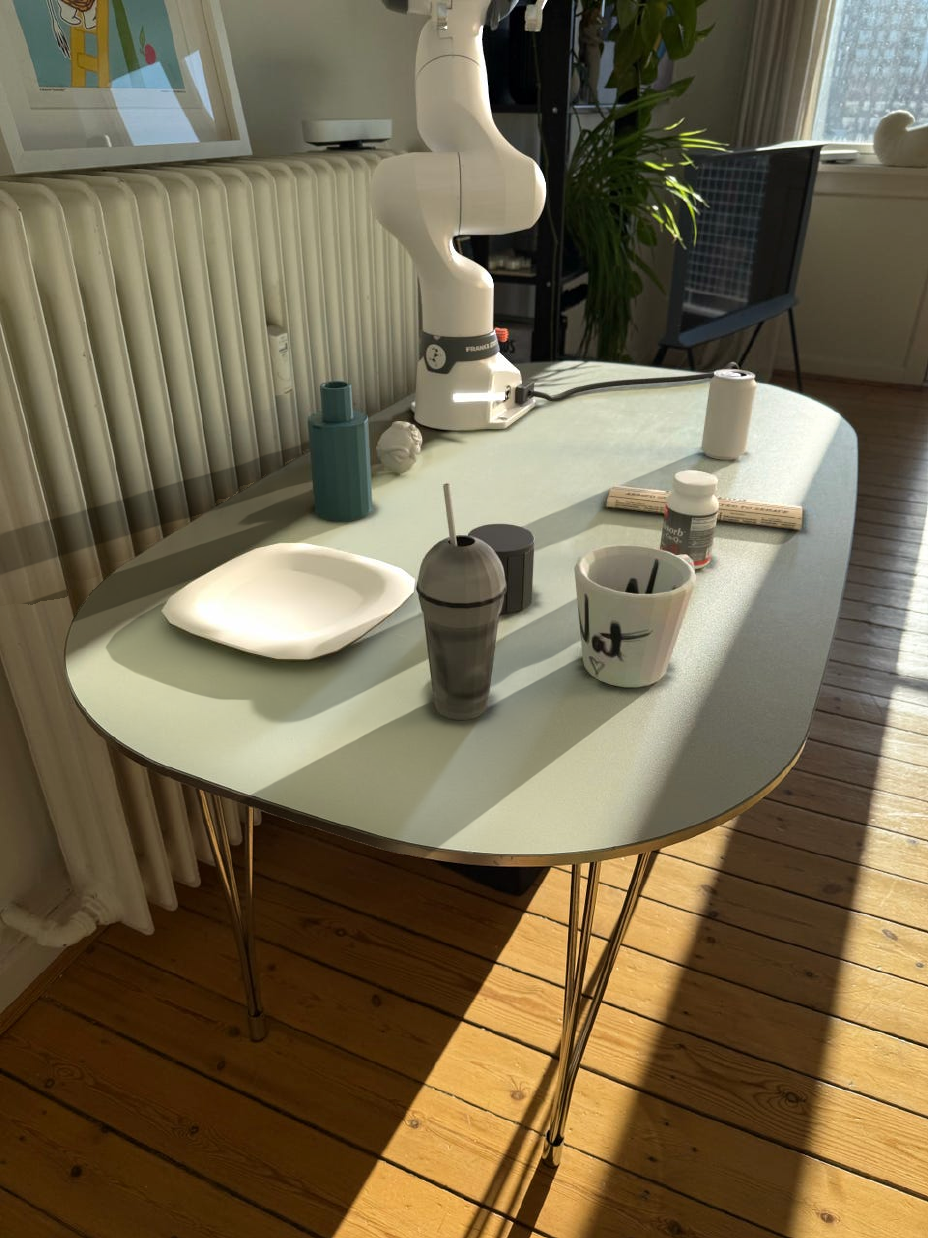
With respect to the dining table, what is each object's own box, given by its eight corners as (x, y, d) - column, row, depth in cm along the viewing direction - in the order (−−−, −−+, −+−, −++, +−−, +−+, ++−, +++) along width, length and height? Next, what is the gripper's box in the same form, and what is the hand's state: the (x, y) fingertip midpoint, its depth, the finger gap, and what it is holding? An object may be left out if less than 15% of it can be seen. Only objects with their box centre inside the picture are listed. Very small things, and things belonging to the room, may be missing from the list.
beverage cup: (495, 735, 74) (501, 507, 64) (409, 724, 75) (402, 499, 65) (509, 686, 80) (516, 472, 70) (429, 677, 81) (425, 465, 71)
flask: (341, 495, 119) (333, 373, 111) (383, 507, 115) (378, 383, 107) (303, 512, 114) (291, 386, 106) (345, 526, 110) (337, 396, 102)
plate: (313, 687, 79) (312, 671, 78) (136, 627, 88) (133, 611, 88) (438, 588, 96) (438, 574, 95) (278, 545, 105) (277, 532, 104)
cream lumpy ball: (432, 469, 127) (431, 421, 124) (400, 483, 122) (398, 434, 119) (399, 460, 130) (398, 413, 127) (367, 474, 126) (364, 425, 122)
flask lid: (490, 577, 98) (491, 518, 95) (543, 594, 95) (547, 534, 91) (453, 601, 93) (453, 540, 90) (508, 620, 90) (510, 557, 86)
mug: (544, 665, 83) (549, 567, 78) (640, 610, 92) (650, 520, 87) (637, 712, 76) (649, 610, 71) (730, 648, 85) (747, 553, 80)
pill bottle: (649, 553, 104) (658, 471, 99) (691, 546, 105) (703, 465, 100) (676, 574, 99) (687, 489, 94) (720, 566, 101) (733, 483, 96)
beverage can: (753, 458, 132) (767, 376, 126) (717, 463, 130) (729, 380, 124) (727, 445, 137) (739, 365, 131) (691, 450, 135) (702, 369, 129)
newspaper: (606, 510, 115) (607, 496, 114) (614, 490, 121) (615, 477, 120) (799, 533, 109) (802, 519, 108) (798, 511, 115) (801, 498, 114)
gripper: (583, -107, 91) (582, 43, 94) (380, -112, 90) (385, 41, 92) (596, -148, 85) (596, 13, 87) (379, -154, 83) (385, 10, 86)
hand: (486, 27), depth 90 cm, fingers open, 8 cm apart
